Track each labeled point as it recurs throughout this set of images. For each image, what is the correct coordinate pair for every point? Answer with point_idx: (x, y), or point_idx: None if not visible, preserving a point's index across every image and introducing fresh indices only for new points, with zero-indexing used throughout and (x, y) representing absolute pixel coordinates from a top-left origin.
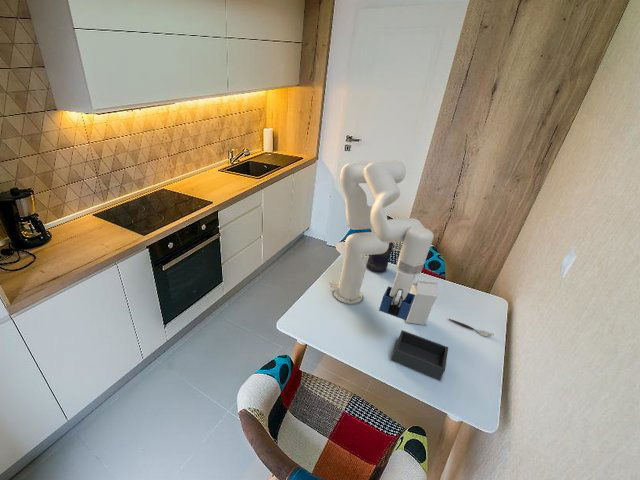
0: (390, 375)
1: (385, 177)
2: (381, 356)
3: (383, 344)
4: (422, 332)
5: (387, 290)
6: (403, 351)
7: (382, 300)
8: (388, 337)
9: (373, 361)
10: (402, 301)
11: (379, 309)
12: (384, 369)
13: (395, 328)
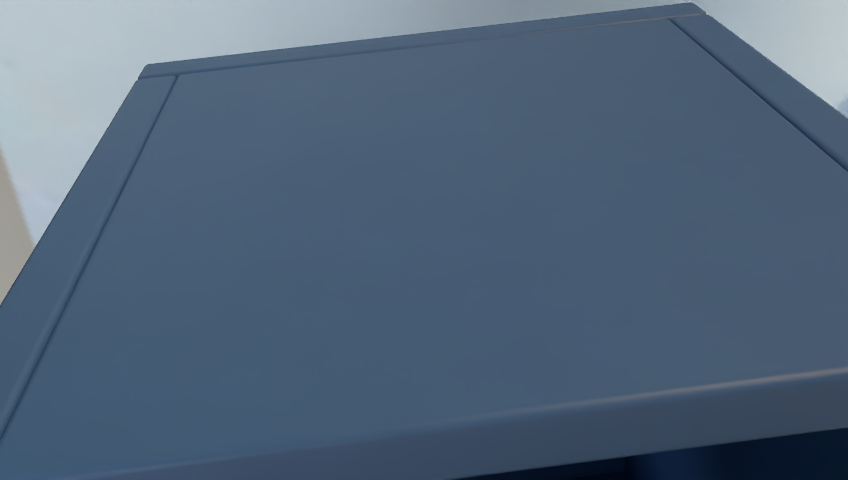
0: (57, 191)
1: None
2: (207, 53)
3: (390, 7)
4: None
5: (639, 447)
6: None
7: (18, 302)
8: (532, 11)
9: (74, 16)
10: (680, 467)
11: (138, 86)
12: (74, 132)
13: (719, 20)
